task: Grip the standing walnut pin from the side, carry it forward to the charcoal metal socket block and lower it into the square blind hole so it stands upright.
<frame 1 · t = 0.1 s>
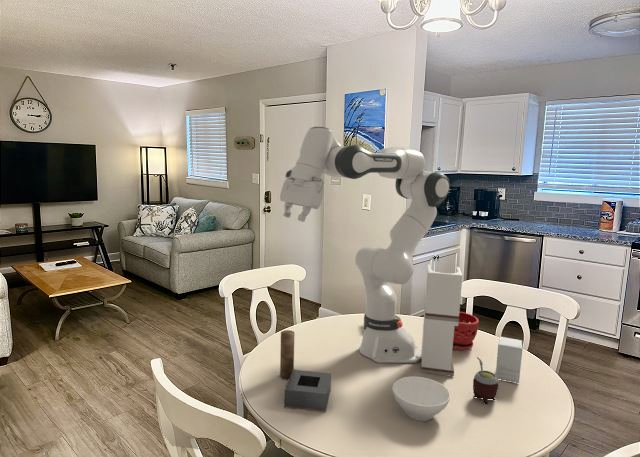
hand: (293, 219, 134), 52 cm above the table, tool tilted 20°, fingers open, 8 cm apart
striped white pillar: (436, 367, 151), on the table
plant pot: (458, 346, 170), on the table
walnut pin: (286, 376, 142), on the table
socket block: (308, 398, 129), on the table
mate gourd: (483, 400, 131), on the table
portable electronic device stand: (379, 327, 187), on the table
bowl: (419, 413, 123), on the table
supplement box: (506, 378, 145), on the table
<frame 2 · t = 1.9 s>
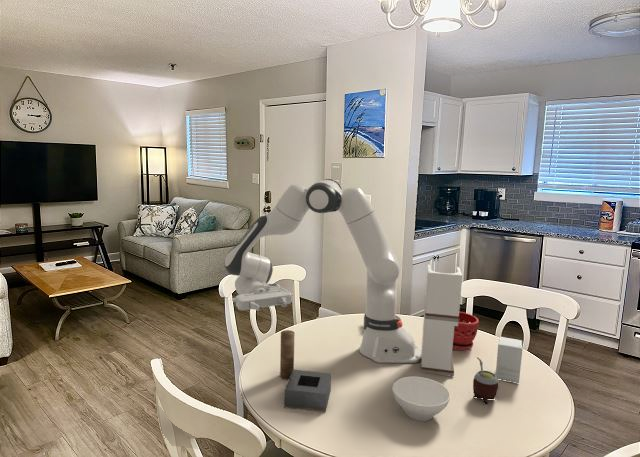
hand: (272, 306, 149), 20 cm above the table, tool horizontal, fingers open, 8 cm apart
nothing on the table moved.
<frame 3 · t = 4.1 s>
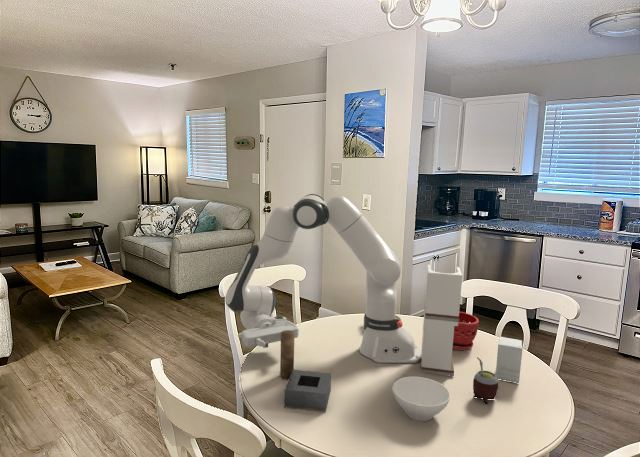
hand: (279, 343, 146), 9 cm above the table, tool horizontal, fingers open, 8 cm apart
nothing on the table moved.
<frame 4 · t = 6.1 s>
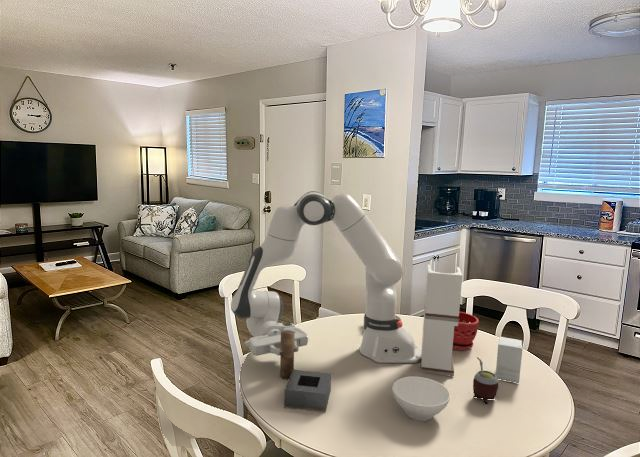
hand: (288, 351, 139), 9 cm above the table, tool horizontal, fingers closed on walnut pin, 4 cm apart
walnut pin: (286, 376, 142), on the table, touching gripper
everything else where it was.
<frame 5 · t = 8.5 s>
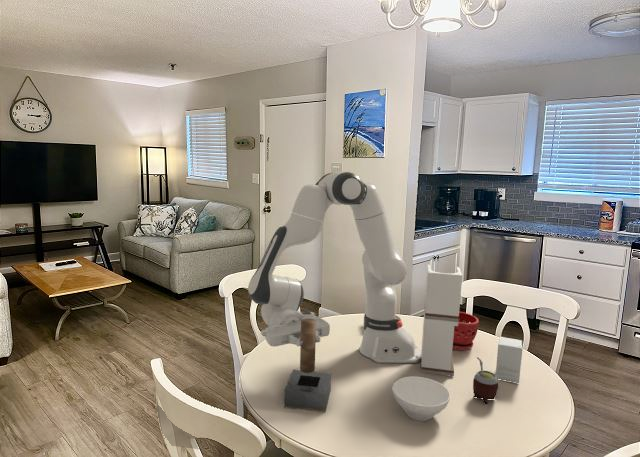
hand: (309, 341, 126), 18 cm above the table, tool horizontal, fingers closed on walnut pin, 4 cm apart
walnut pin: (307, 369, 128), point 9 cm above the table, touching gripper
everything else where it was.
when the fingers open (11 cm above the table, at t = 10.8 s): walnut pin stays where it is, resting on socket block.
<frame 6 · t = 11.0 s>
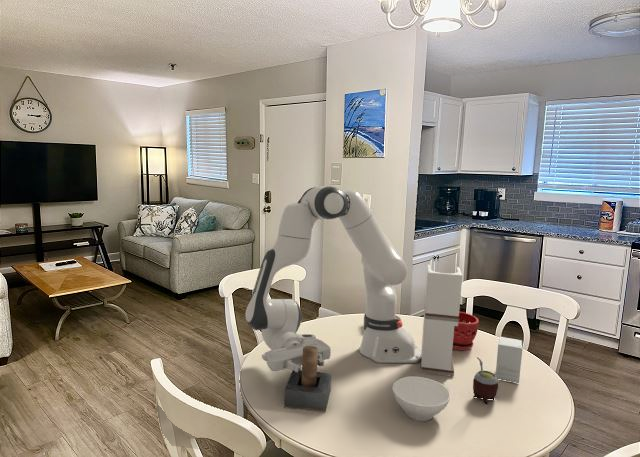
hand: (310, 366, 126), 11 cm above the table, tool horizontal, fingers open, 6 cm apart
walnut pin: (308, 396, 129), point 1 cm above the table, touching socket block
everything else where it was.
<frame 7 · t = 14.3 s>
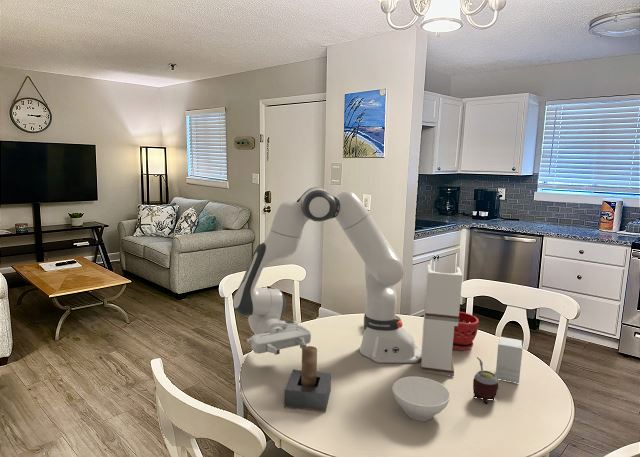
hand: (291, 349, 137), 11 cm above the table, tool horizontal, fingers open, 8 cm apart
nothing on the table moved.
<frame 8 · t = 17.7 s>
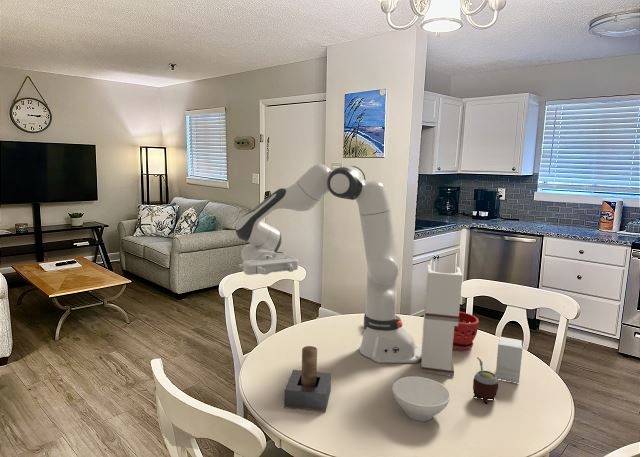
hand: (279, 270, 149), 32 cm above the table, tool horizontal, fingers open, 8 cm apart
nothing on the table moved.
at the end: walnut pin 0.0 cm off-centre on the socket block, point 0.6 cm above the socket block's base; walnut pin tilted 0°; the gripper is holding nothing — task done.
